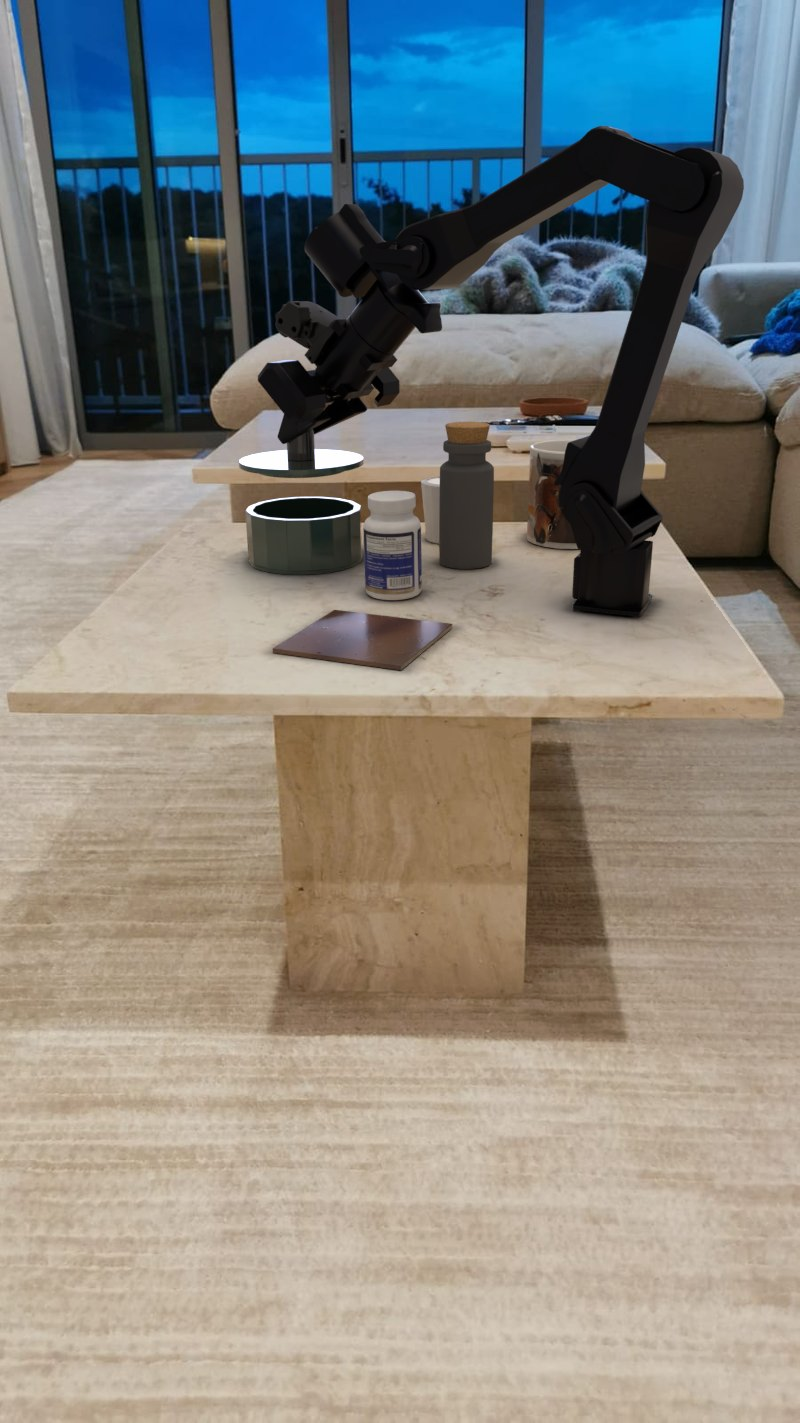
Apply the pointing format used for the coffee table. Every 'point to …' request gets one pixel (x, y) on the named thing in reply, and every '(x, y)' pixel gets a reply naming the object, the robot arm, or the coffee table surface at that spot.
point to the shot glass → (431, 507)
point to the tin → (304, 535)
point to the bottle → (466, 497)
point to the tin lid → (301, 460)
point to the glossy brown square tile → (364, 639)
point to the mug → (547, 497)
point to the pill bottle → (392, 546)
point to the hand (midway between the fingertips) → (290, 438)
